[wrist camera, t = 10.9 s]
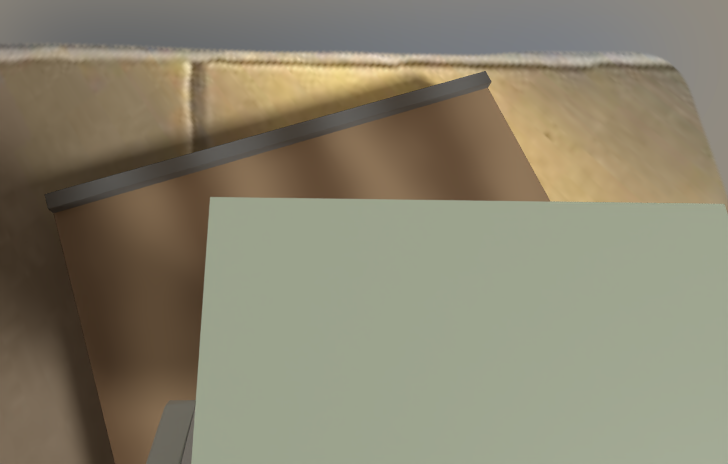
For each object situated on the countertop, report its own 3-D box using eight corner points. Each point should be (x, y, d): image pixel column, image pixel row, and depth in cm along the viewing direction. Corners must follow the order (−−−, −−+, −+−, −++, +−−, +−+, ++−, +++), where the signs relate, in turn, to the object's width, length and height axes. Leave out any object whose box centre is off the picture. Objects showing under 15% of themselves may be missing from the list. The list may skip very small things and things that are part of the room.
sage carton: (268, 539, 15) (148, 1074, 3) (271, 358, 16) (211, 181, 4) (434, 526, 15) (950, 904, 3) (420, 354, 17) (719, 190, 5)
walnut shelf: (150, 518, 23) (127, 535, 20) (73, 216, 28) (43, 189, 24) (582, 323, 30) (619, 312, 26) (464, 101, 34) (483, 67, 31)
